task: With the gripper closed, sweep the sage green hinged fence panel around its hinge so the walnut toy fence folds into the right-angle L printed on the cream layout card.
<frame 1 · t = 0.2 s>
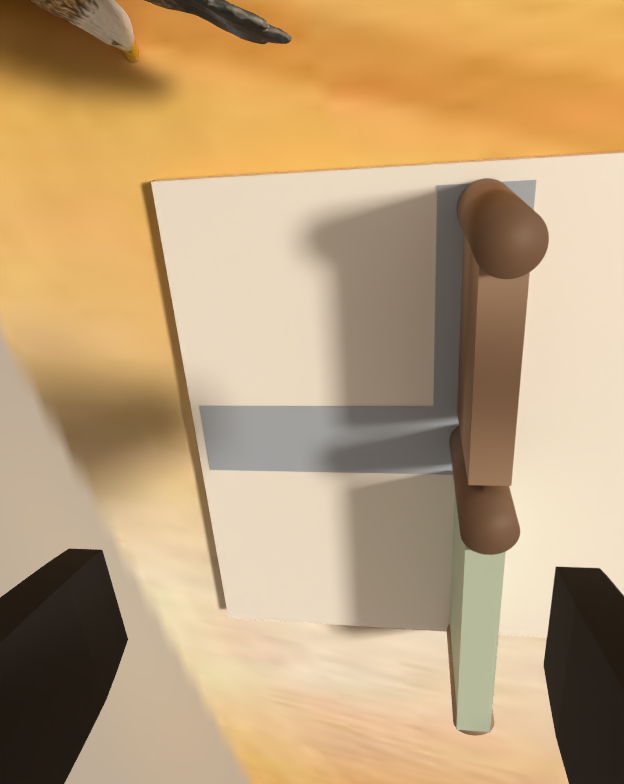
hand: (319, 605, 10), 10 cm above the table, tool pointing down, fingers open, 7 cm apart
layout card: (458, 432, 19), on the table
fence panel: (472, 604, 18), point 3 cm above the table, hinge at 0.0°
fence: (471, 433, 19), resting on layout card
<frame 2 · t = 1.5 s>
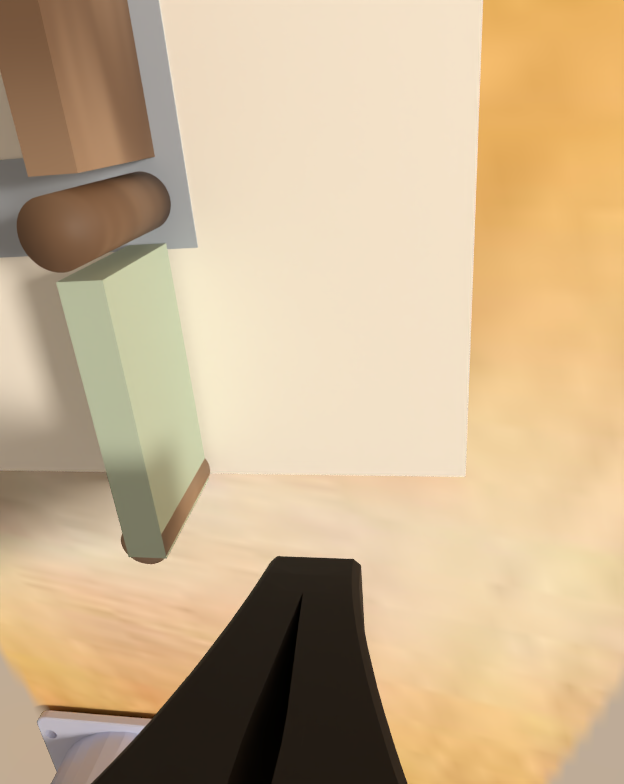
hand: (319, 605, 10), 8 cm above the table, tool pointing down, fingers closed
layout card: (137, 199, 15), on the table
fence panel: (148, 403, 15), point 3 cm above the table, hinge at 0.0°
fence: (151, 198, 15), resting on layout card
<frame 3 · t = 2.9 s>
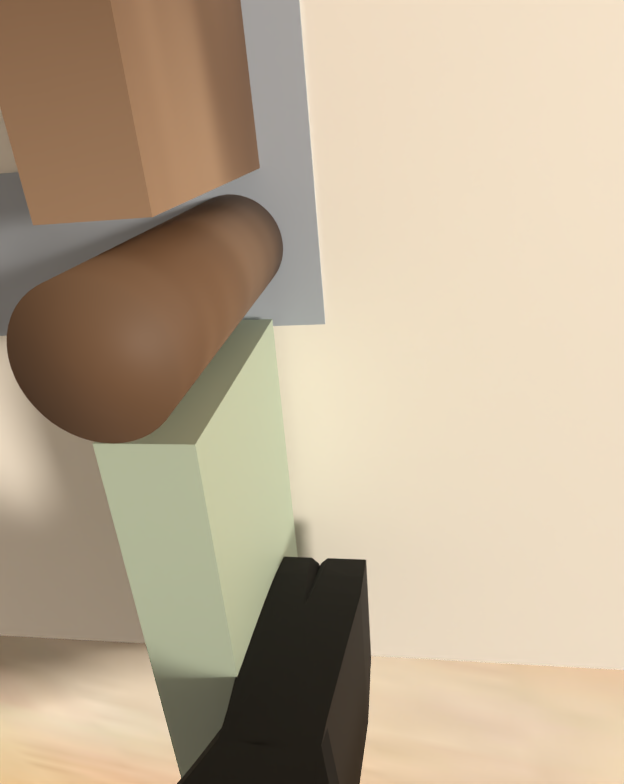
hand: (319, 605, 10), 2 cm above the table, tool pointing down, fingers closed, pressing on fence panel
layout card: (217, 239, 9), on the table
fence panel: (239, 598, 9), point 3 cm above the table, hinge at 0.8°, touching gripper
fence: (243, 238, 9), resting on layout card
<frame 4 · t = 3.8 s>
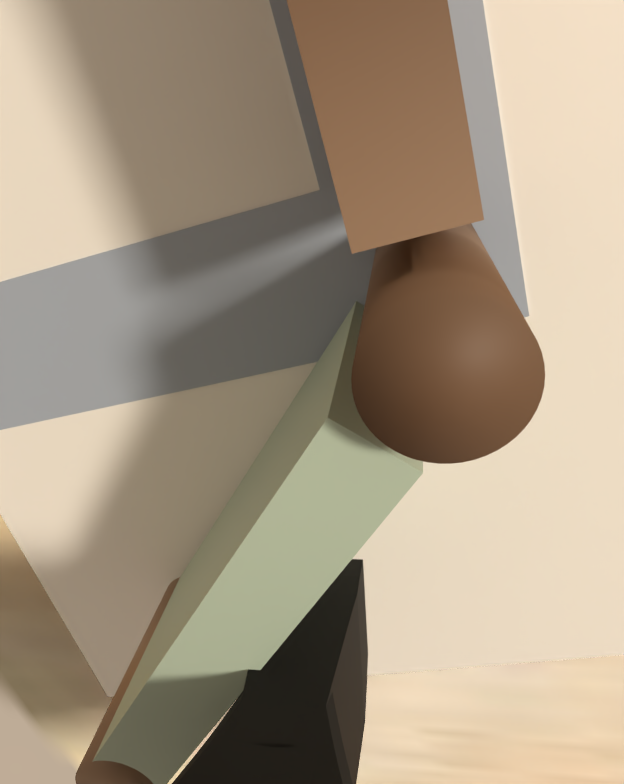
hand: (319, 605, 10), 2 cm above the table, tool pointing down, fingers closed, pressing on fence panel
layout card: (398, 253, 9), on the table
fence panel: (244, 564, 8), point 3 cm above the table, hinge at 46.0°, touching gripper
fence: (425, 246, 9), resting on layout card
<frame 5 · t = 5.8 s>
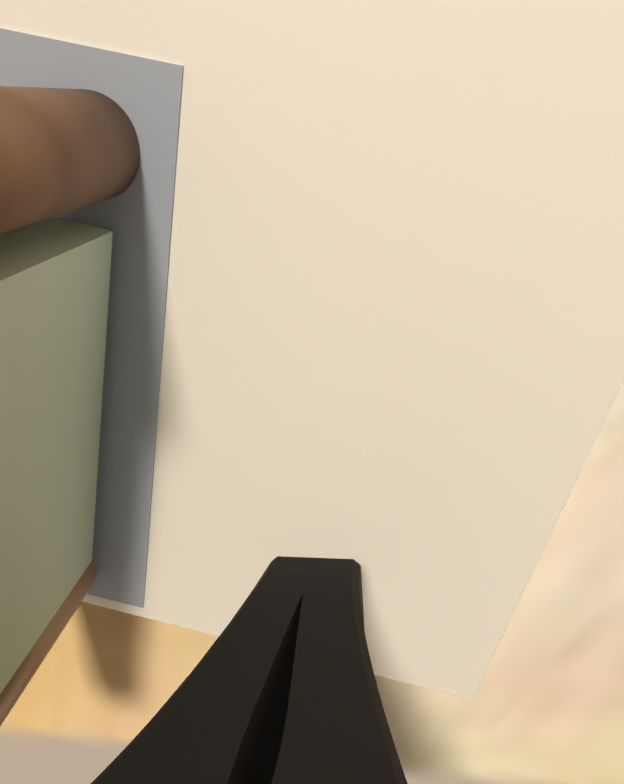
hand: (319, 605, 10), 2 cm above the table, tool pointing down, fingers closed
layout card: (107, 172, 9), on the table
fence panel: (9, 496, 8), point 3 cm above the table, hinge at 92.0°
fence: (108, 143, 9), resting on layout card
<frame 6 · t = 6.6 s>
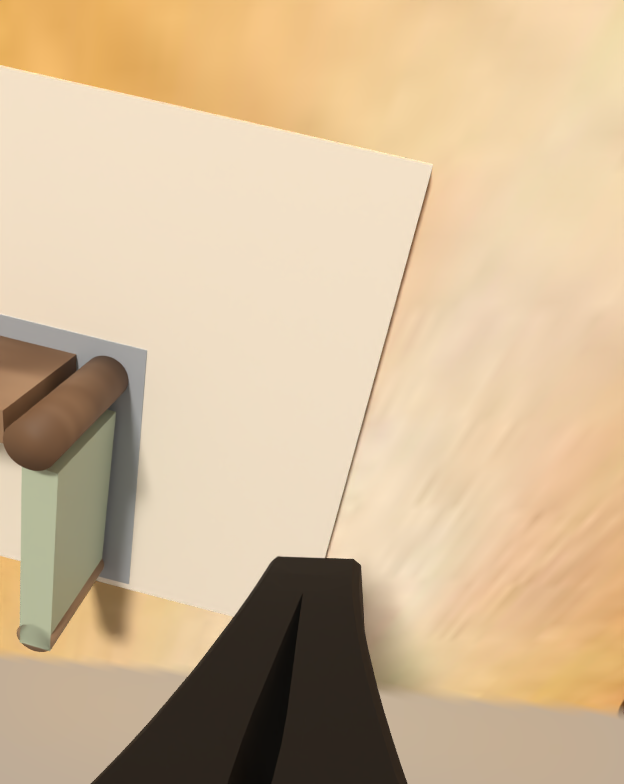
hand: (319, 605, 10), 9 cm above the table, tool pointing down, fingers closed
layout card: (113, 380, 19), on the table
fence panel: (67, 529, 19), point 3 cm above the table, hinge at 92.1°
fence: (114, 369, 19), resting on layout card
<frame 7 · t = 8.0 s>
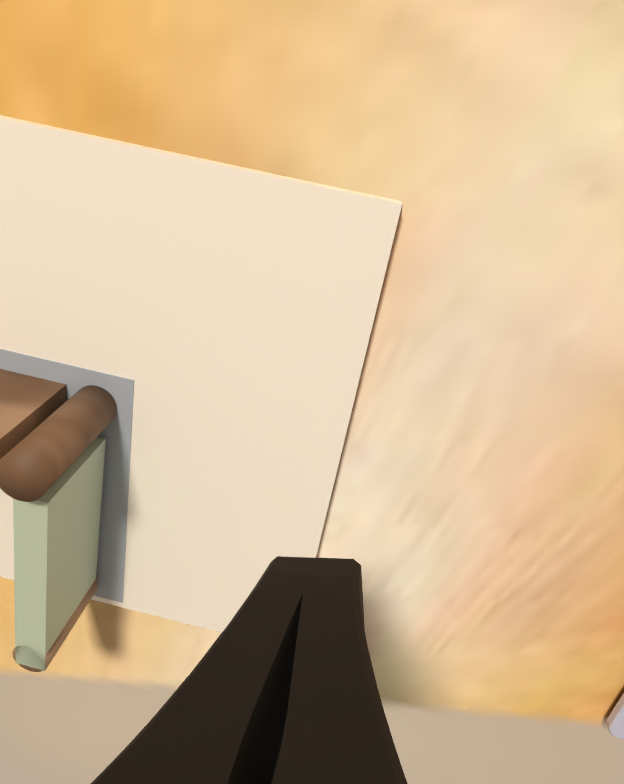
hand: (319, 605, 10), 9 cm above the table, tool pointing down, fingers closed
layout card: (103, 408, 20), on the table
fence panel: (60, 553, 20), point 3 cm above the table, hinge at 92.1°
fence: (103, 397, 20), resting on layout card
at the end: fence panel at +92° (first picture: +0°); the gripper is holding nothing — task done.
